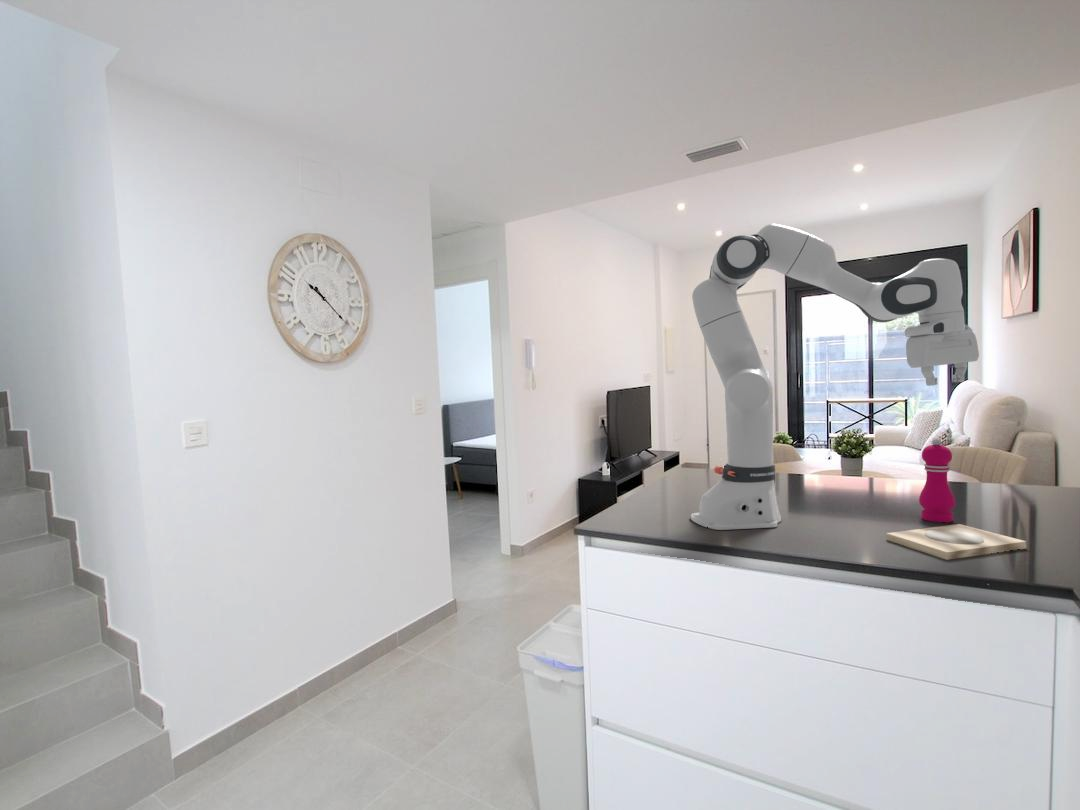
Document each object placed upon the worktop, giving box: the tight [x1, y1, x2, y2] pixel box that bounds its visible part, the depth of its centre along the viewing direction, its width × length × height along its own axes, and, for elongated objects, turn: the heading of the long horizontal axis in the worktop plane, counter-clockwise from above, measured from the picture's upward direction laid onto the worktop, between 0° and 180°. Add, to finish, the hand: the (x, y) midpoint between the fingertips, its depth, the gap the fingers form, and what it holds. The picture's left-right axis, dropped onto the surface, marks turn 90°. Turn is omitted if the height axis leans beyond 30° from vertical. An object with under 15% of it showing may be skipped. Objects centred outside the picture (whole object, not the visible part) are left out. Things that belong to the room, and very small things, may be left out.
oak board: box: [886, 523, 1027, 561], centre depth 116 cm, size 20×14×2 cm
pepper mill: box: [918, 438, 956, 523], centre depth 134 cm, size 7×7×20 cm
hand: (945, 383), depth 132 cm, fingers open, 8 cm apart
